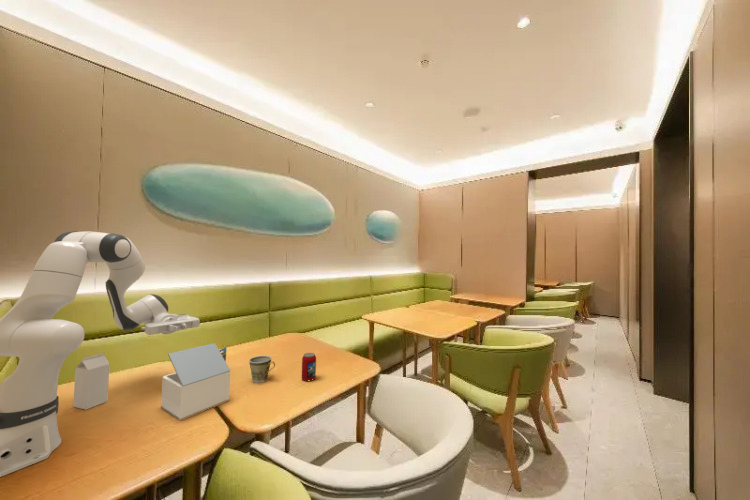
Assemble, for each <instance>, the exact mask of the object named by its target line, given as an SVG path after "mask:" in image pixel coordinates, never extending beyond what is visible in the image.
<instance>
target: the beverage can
mask: <svg viewBox="0 0 750 500" xmlns="http://www.w3.org/2000/svg"><path fill="white" fill-rule="evenodd" d="M316 373H317V357H316V354H315V353H314V352H306V353H304V354H303V356H302V359H301V380H302V381H304V380H306V381H305V382H309V381H308V380H312V379H313V380H315V379H316V376H317V375H316ZM314 378H315V379H314ZM313 380H312V381H313Z"/></svg>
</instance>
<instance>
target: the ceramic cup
mask: <svg viewBox="0 0 750 500" xmlns="http://www.w3.org/2000/svg"><path fill="white" fill-rule="evenodd" d="M248 362H249V367H250V373H251V374H250V375H251V380H252V382H253V383H256V384H257V383H264V382H265V381H267V380H268V377H269V373H270V372H271V371H272V370H273V369H274V368H275V366H276V363H275V361H272V357H271V356H269V355H258V356H254V357H253V356H252V357H251V358H250V359H249V361H248ZM271 364H273V367H271V368H270V366H271Z"/></svg>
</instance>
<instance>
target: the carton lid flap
mask: <svg viewBox="0 0 750 500" xmlns="http://www.w3.org/2000/svg"><path fill="white" fill-rule="evenodd" d="M219 350H220V349H219V348H218V346H217V344H216V343H209V344H205V345H200V346H195V347H191V348H188V349H187V348H186V349H183V350H178V351H174V352H170V353H167V354H168V357H169V360H170V362H171V364H172V366H173V367H172V368H173V369H174V371H175V373H177V376H178V378H179V380H180V382H181V384H182V387H183V386H186V385H189V384H192V383H196V382H199V381H202V380H205V379H208V378H211V377H214V376H217V375H220V374H223V373H227V372H230V373H231V369H230V367H229V365H228V364H227V362H225V360H224V358H223V357H222V355H221V353H222V352H220V351H219Z"/></svg>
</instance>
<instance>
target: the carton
mask: <svg viewBox="0 0 750 500" xmlns="http://www.w3.org/2000/svg"><path fill="white" fill-rule="evenodd" d="M161 379H162V381H161V400H160V408H161V410H164V411H165V412H166V413H167V414H169V415H171V416H172V417H174V419H177V420H178V421H180V422H182V421H184V420H186V419H189V418H190V417H191V418H192V417H193V416H196V415H198V413H199V414H201V413H203V412H206V411H208V410H210V409H209V408H211V409H213V408H215V407H218V406H220V405H223V404H225V403H227V402H230V389H231V388H230V385H231V371H230V372H227V373H223V374H220V375H217V376H214V377H211V378H208V379H205V380H202V381H199V382H196V383H192V384H189V385H186V386H183V387H182V384H181V382H180V380H179V378H178V376H177V373H176V372H173V373H169V374H167V375H166V374H165V375H162V378H161ZM212 407H213V408H212ZM207 409H208V410H207ZM205 410H206V411H205ZM202 411H203V412H202ZM200 412H201V413H200Z"/></svg>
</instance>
